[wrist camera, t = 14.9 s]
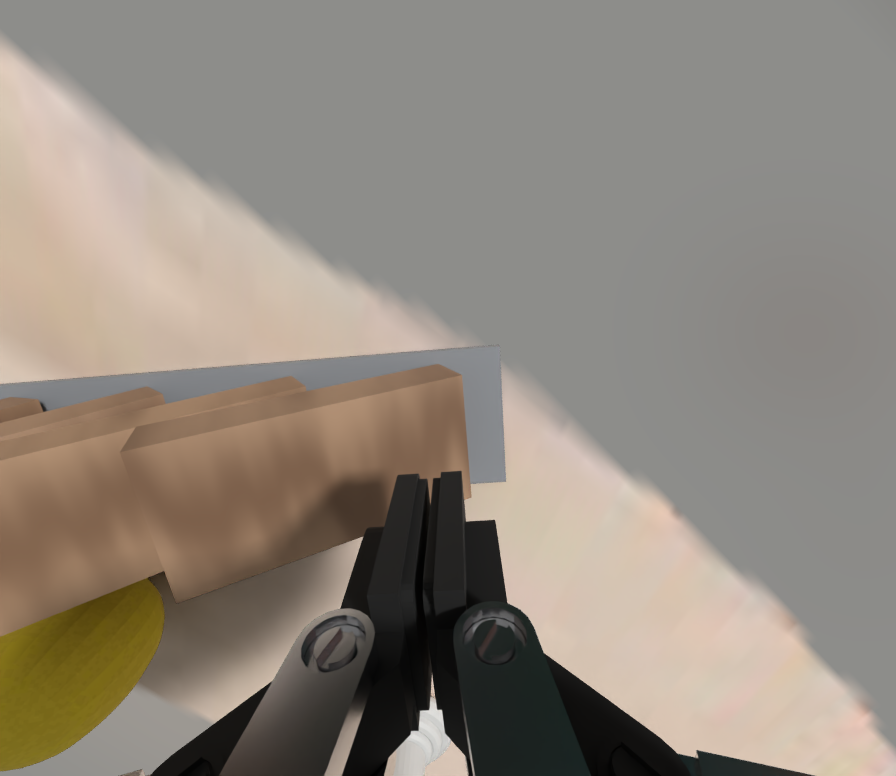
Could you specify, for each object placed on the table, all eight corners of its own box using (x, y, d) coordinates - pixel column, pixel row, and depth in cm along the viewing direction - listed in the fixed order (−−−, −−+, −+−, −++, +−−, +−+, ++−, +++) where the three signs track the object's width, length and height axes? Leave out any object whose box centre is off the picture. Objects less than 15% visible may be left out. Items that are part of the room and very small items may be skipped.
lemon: (161, 637, 22) (2, 846, 14) (65, 576, 20) (-166, 769, 13) (222, 578, 20) (84, 774, 13) (123, 509, 19) (-95, 680, 12)
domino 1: (199, 507, 17) (-240, 710, 10) (182, 492, 18) (-217, 663, 11) (162, 393, 16) (-388, 540, 9) (147, 386, 17) (-342, 508, 10)
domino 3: (471, 497, 16) (176, 603, 12) (448, 475, 18) (184, 562, 14) (462, 375, 15) (119, 452, 11) (438, 363, 16) (136, 426, 12)
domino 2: (329, 504, 17) (-21, 645, 11) (314, 484, 18) (1, 599, 13) (305, 386, 15) (-114, 488, 10) (291, 375, 17) (-76, 458, 11)
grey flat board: (505, 477, 18) (505, 481, 18) (-96, 517, 19) (-105, 520, 19) (498, 344, 16) (499, 346, 16) (-167, 397, 18) (-177, 399, 17)
